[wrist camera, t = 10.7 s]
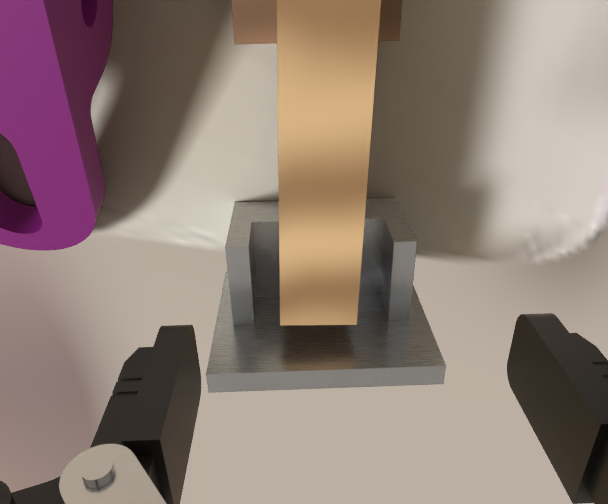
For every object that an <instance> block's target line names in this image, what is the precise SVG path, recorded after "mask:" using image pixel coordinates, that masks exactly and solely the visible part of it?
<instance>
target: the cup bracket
mask: <svg viewBox="0 0 608 504" xmlns="http://www.w3.org/2000/svg"><path fill="white" fill-rule="evenodd" d="M416 246H417V241H416V238H415V236H414V234H413V232H412V230H411V228H410V226H409V224H408V222H407V220H406V218H405V216H404V214H403V212H402V210H401V208H400V205H399V203H398V201H397V199H396V197H392V198H366V208H365V221H364V235H363V248H362V261H361V275H360V288H359V301H358V315H357V325H280V265H279V201H256V202H235V204H234V209H233V213H232V218H231V223H230V227H229V232H228V237H227V242H226V246H225V249H226V259H227V268H228V272H226V274H225V279H224V284H223V289H222V295H221V300H220V305H219V310H218V316H217V321H216V326H215V331H214V336H213V341H212V346H211V352H210V357H209V362H208V368H207V372H206V377H207V384H208V392H237V391H263V390H264V391H265V390H289V389H290V390H292V389H318V388H319V389H320V388H346V387H374V386H402V385H428V384H443V383H444V376H445V369H446V365H445V362H444V360H443V357H442V355H441V352H440V350H439V348H438V345H437V342H436V340H435V338H434V335H433V333H432V330H431V328H430V325H429V323H428V320H427V318H426V315H425V313H424V310H423V308H422V305H421V303H420V301H419V298H418V296H417V293H416V291H415V288H414V286H413V276H414V266H415V256H416Z"/></svg>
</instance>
